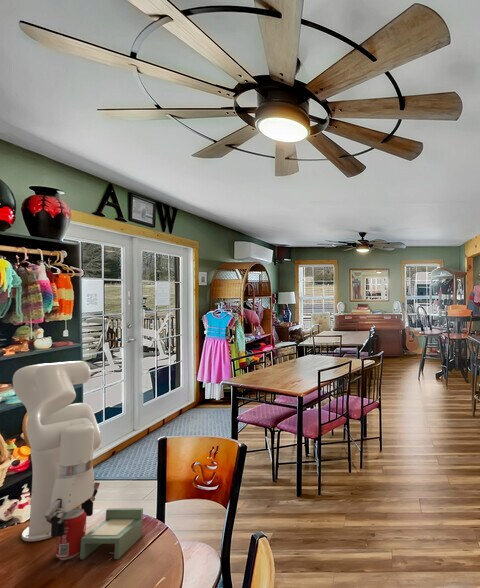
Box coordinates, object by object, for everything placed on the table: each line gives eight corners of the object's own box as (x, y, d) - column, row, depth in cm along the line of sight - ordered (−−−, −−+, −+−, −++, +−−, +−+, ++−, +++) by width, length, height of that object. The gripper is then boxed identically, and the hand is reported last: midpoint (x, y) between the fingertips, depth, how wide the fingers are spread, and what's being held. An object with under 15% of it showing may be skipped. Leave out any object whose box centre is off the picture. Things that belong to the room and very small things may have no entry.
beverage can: (90, 547, 105) (92, 508, 105) (68, 563, 99) (71, 520, 99) (71, 545, 106) (74, 506, 106) (49, 560, 99) (52, 518, 100)
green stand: (79, 559, 100) (81, 528, 101) (106, 536, 110) (108, 508, 111) (118, 559, 101) (120, 528, 101) (141, 536, 111) (143, 508, 111)
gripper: (87, 455, 112) (84, 508, 111) (34, 481, 94) (30, 545, 93) (111, 455, 112) (108, 508, 111) (62, 481, 95) (58, 545, 94)
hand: (72, 525), depth 102 cm, fingers open, 9 cm apart
